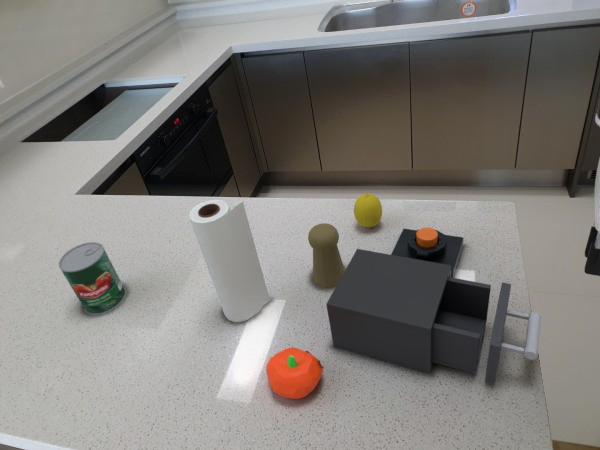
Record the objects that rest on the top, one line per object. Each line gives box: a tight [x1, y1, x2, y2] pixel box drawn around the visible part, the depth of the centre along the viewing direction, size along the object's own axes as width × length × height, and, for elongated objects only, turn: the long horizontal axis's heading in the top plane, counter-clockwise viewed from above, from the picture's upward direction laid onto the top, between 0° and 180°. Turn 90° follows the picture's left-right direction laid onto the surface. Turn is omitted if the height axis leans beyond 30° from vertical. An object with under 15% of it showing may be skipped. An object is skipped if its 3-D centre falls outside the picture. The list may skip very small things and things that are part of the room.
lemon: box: [353, 192, 383, 228], centre depth 91 cm, size 6×6×8 cm
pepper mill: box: [307, 223, 346, 289], centre depth 80 cm, size 6×6×11 cm
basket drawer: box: [432, 277, 542, 386], centre depth 64 cm, size 18×11×8 cm, turn 64°
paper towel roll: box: [188, 199, 271, 323], centre depth 73 cm, size 7×6×21 cm
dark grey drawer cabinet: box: [326, 248, 451, 375], centre depth 69 cm, size 15×13×10 cm
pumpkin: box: [265, 346, 324, 400], centre depth 64 cm, size 7×8×6 cm
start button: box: [416, 227, 438, 248], centre depth 81 cm, size 4×4×2 cm
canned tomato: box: [58, 241, 127, 316], centre depth 84 cm, size 8×8×11 cm
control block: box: [390, 228, 464, 278], centre depth 82 cm, size 11×9×4 cm
